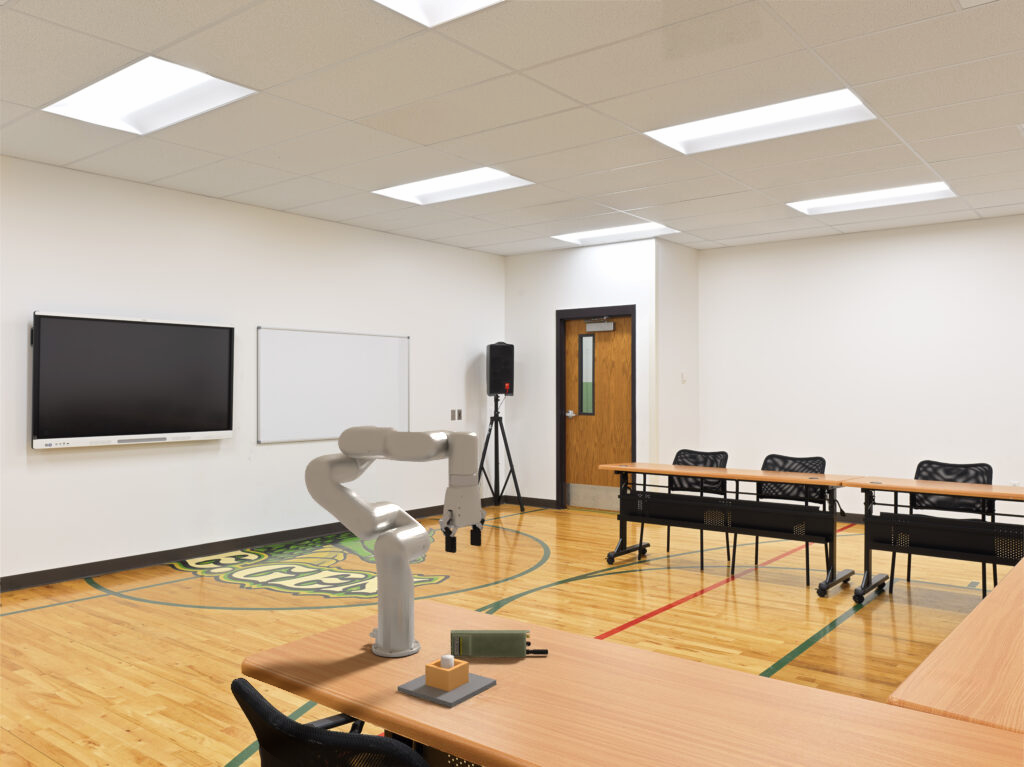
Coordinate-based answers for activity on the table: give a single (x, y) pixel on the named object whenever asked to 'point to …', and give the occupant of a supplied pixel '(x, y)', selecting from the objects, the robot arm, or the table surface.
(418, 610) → the table surface
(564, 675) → the table surface
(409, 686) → the plate
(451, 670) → the orange open box
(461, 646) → the handheld radio
